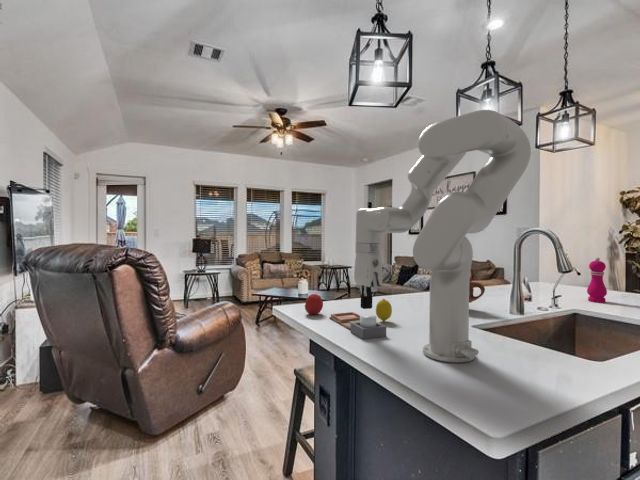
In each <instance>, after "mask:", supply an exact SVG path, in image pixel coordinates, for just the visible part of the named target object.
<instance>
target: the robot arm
mask: <svg viewBox="0 0 640 480" xmlns="http://www.w3.org/2000/svg"><path fill="white" fill-rule="evenodd" d="M417 148H418V151H419V152H420V154H421V156H420V157H419V159H418V160H417V161H416V162H415V164H414V165H413V166H412V167H411V168H410V169H409V170H408V173H407V180H408V181H409V182H410V184H411V190H410V192H409V195H408V196H407V198H406V200H404V202H403V203H401V205H400V206H399V207H392V206H390V207H389V206H380V207H376V208H373V207H372V208H371V207H369V208H368V207H364V208H359V209H357V211H356V217H355V219H356V220H355V250H354V252H355V259H354V260H355V261H354V271H353V272H354V274H353V275H354V276H353V277H354V278H353V279H354V282H355V284H356V286H357V288H359V294H360V309H363V310H367V309H368V310H369V309H372V308H373V296H374V293H375V292H378V288H379V287H382V286H383V264H382V263H383V262H382V255H381V234H403V233H407V232H408V231H410V230H411V229H412V228H414V226H416V224H417V223H418V222H419V221H420V220H421V218H422V217H423V216H424V215H425V214H426V212H427V210H428V208H429V207H430V203H431V201H432V198H433V194H434V192H435V190H436V189H437V188H438V187H439V186H440V185H441V184H442V182H443V181H444V180H445V179H446V178H447V177H448V176H449V175H450V173H451V172H452V171H453V170H454V169H455V168H456V166H457V165H458V164H459V163H460V162H461V160H462V159H463V158H464V156H466V154H467V153H469V152H474V151H479V152H482V153H485V154H487V155H489V160H487V162H486V163H485V164H484V165H483V166H482V167H481V168H480V170H479V171H478V172H477V174H476V175H475V176H474V178H473V180H472V182H471V183H470V185H469V186H468V187H467V189H466V190H465V191H454V192H450V193H448V194H447V195H445V196H444V197H442V198H441V200H439V201H438V202H437V204H436V205H435V207H434V208H433V210H432V212H431V214H430V215H429V216H428V218H427V220H426V221H425V223H424V225H423V227H422V229H420V231H419V233H418V235H417V237H416V239H415V241H414V243H413V247H412V256H413V259H414V261H415V263H416V265H417V266H418V267H420V268H421V269H423V270H425V271H429V272H431V273H430V280H429V281H430V282H429V308H428V309H429V313H428V314H429V316H428V317H429V319H428V320H429V321H428V322H429V325H428V327H429V328H428V330H429V333H428V334H429V335H428V339H429V340H428V342H429V343H427V344H425V345H424V346H422V347H423V348H422V353H423V354H424V355H425V357H428V358H431V359H432V360H436V361H440V362H447V363H468V362H471V361H473V360H475V359H476V356H478V355H479V351H480V350H478V349H476V348H473V347H472V340H470V339H469V336H470V335H469V330H470V328H469V325H470V321H469V320H470V317H469V316H470V314H469V313H470V311H469V310H470V309H469V308H470V305H469V304H470V303H469V281H470V277H471V271H472V270H471V269H472V264H473V257H474V256H473V255H474V250H473V246H472V244H471V241H470V239H468V237H467V234H475V233H476V234H477V233H479V232H482V231H484V230H485V229H487V227H489V226H490V224H491V222H492V221H493V219H494V218H495V217H496V215H497V213H498V212H499V211H500V209H501V208H502V206H503V205H504V204H505V202H506V200H507V199H508V197H509V195H510V193H512V191H513V189H514V188H515V186H516V185H517V183H518V182H519V181H520V180H521V178H522V176H523V175H524V173H525V171H526V169H527V168H528V165H529V163H530V160H531V155H532V153H531V151H532V147H531V142H530V140H529V137H528V136H527V134H526V132H525V130H523V129H522V128H521V126H520V125H518V124H517V123H516V122H515V121H513V120H512V119H510V118H508V117H507V116H504V115H503V114H501V113H500V112H497V111H495V110H493V109H492V110H491V109H479V110H475V111H471V112H467V113H464V114H461V115H457V116H454V117H450V118H446V119H442V120H440V121H436V122H433V123H432V124H430V125H428V126H427V127H426V128H425V129H424V130H423V131H422V132H421V133H420V136H419V138H418V141H417Z"/></svg>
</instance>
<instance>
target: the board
mask: <svg viewBox="0 0 640 480" xmlns="http://www.w3.org/2000/svg"><path fill="white" fill-rule="evenodd" d="M361 315H362V314H357V313H356V312H355V311H354V312H353V311H351V312H338V313H330V316H329V319H330V320H331V321H333V322H335V323H337V324H338V325H340V326H341V327H344V328H346V329H348V330H350V331H351V323H354V322H360V316H361Z"/></svg>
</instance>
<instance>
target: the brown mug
mask: <svg viewBox="0 0 640 480" xmlns="http://www.w3.org/2000/svg"><path fill="white" fill-rule="evenodd" d="M476 287H477V288H479V290H480V294H479V295H477V296H475V295H474V289H475V288H476ZM485 291H486V288H485V285H483V283H481V282H480V281H475V280H473V279H472V277H471V276H470V281H469V304H470V303H473V302H475V301H477V300H478V299H480V298H481V297H482V296H483V295H484V294H485Z"/></svg>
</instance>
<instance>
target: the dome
mask: <svg viewBox="0 0 640 480" xmlns="http://www.w3.org/2000/svg"><path fill="white" fill-rule="evenodd" d="M360 315H361V316H360V326H361V327H363V328H368V327H376V322H377V315H373V314H360Z"/></svg>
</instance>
